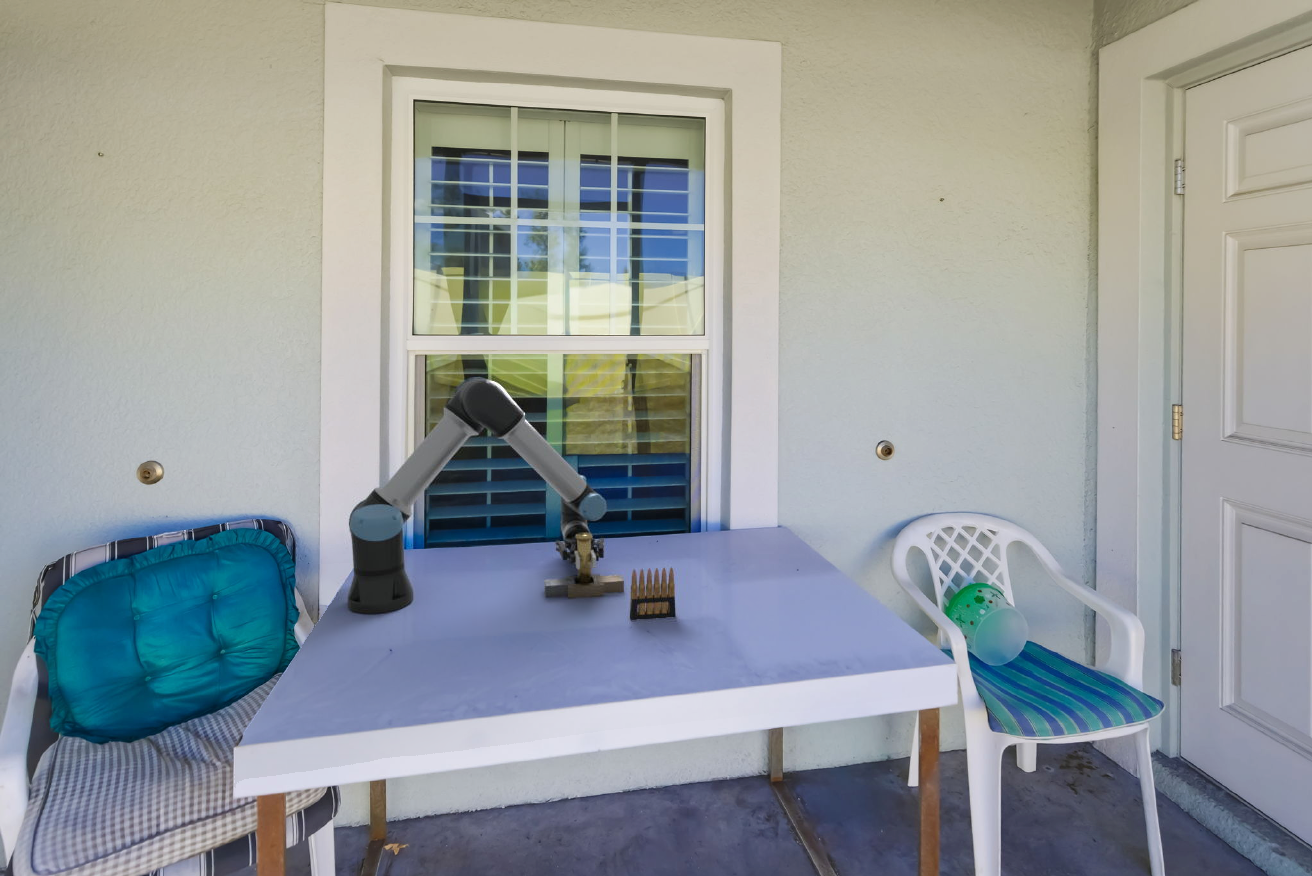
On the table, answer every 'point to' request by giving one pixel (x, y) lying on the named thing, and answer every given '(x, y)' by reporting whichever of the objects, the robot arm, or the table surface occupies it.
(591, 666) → the table surface
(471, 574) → the table surface
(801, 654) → the table surface
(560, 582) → the chain joint
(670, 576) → the ammunition clip
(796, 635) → the table surface
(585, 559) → the link pin
